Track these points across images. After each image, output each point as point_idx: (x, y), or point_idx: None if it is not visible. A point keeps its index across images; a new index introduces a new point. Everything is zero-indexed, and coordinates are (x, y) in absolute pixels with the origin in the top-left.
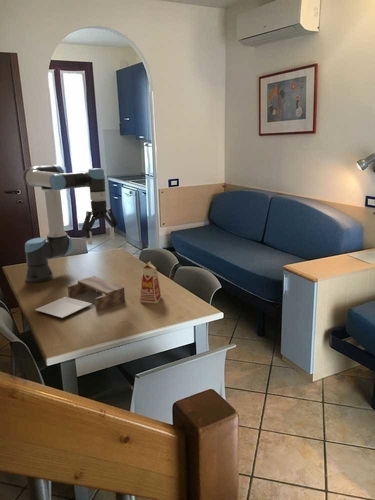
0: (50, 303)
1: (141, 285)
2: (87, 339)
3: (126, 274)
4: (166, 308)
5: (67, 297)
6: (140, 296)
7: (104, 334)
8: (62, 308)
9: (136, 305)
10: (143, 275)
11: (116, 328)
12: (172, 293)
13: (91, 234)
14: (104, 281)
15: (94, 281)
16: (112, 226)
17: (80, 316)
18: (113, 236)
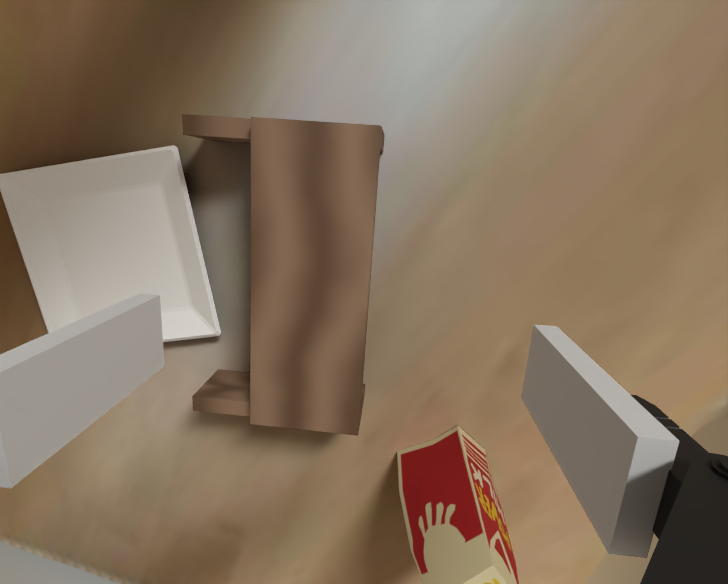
0: (78, 167)
1: (424, 498)
2: (70, 523)
3: (706, 71)
4: (413, 571)
5: (176, 167)
6: (399, 475)
7: (126, 539)
8: (114, 245)
9: (361, 466)
10: (420, 574)
11: (178, 540)
12: (565, 501)
13: (57, 449)
14: (354, 274)
15: (314, 222)
16: (663, 524)
17: None
18: (540, 425)
